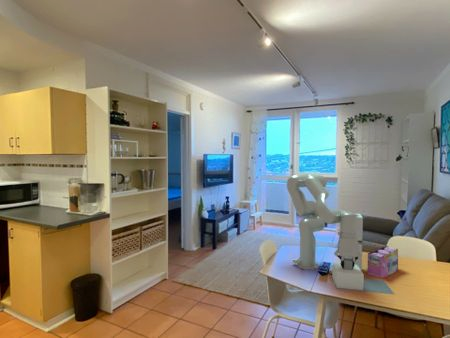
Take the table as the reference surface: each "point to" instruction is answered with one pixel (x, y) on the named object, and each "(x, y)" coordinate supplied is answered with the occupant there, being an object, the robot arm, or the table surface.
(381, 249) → the gum box
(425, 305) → the table surface
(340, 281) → the cover
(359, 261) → the tall pale grey box
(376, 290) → the board
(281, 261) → the table surface
